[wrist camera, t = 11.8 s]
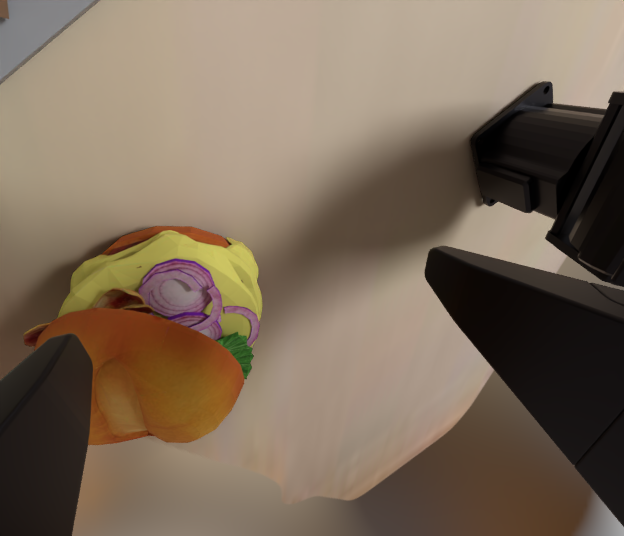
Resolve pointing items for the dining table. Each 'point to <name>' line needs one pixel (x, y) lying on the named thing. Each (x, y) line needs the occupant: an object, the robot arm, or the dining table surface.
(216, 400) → the cheeseburger
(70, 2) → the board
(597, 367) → the robot arm
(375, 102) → the dining table surface
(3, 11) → the brown wooden block
